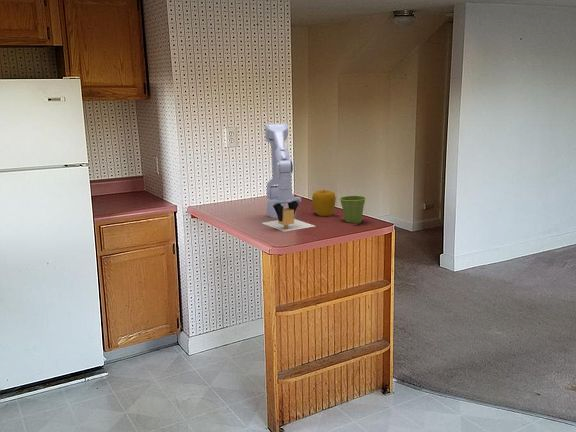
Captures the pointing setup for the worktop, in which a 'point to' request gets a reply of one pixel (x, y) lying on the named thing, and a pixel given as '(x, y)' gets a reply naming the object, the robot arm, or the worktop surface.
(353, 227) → the worktop surface
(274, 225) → the plate
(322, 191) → the apple
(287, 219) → the wooden toy cube
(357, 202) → the plant pot
